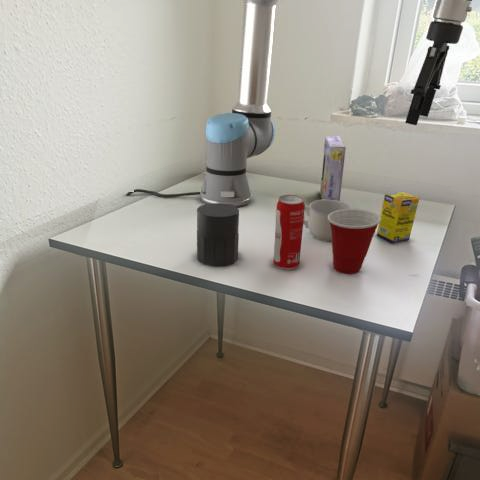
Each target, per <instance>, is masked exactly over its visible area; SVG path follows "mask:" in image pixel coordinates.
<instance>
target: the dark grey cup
mask: <svg viewBox="0 0 480 480" xmlns="http://www.w3.org/2000/svg"><path fill="white" fill-rule="evenodd" d="M239 226H240V209H239V207H235V206H232V205H228V204H221V203H212V204H205V203H204V204H202V205H199V206H198V207H197V208H196V258H197V261H198V262H199V263H201V264H203V265H206V266H211V267H226V266H230V265H233V264H235V263H236V262H238V260H239V239H240V238H239V237H240V233H239Z"/></svg>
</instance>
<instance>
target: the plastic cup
mask: <svg viewBox="0 0 480 480" xmlns="http://www.w3.org/2000/svg"><path fill="white" fill-rule="evenodd" d="M380 216H381V214H378V213H377V212H374V211H372V210H368V209H361V208H353V209H343V210H337V211H334V212H331V213H330V214H329V215H328V221H329V222H330V225H331V231H332V241H331V249H332V250H331V252H332V264H333V265H332V266H333V269H334V270H335V271H336V272H338V273H340V274H344V275H345V274H346V275H355V274H358V273H359V272H361V271H360V270H361V269H362V267H363V264H364V261H365V259H366V257H367V254H368V253H369V252H368V251H369V249H370V246H371V243H372V240H373V238H374V235H375V233H376V230H377V229H378V226H379V223H380V221H381V217H380Z"/></svg>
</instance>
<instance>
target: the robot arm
mask: <svg viewBox="0 0 480 480" xmlns="http://www.w3.org/2000/svg"><path fill="white" fill-rule="evenodd" d="M281 1H282V0H241V2H242V4H243V10H242V13H243V14H242V26H241V45H240V59H239V62H240V63H239V77H238V92H237V93H238V94H237V101H236V103H235V104H234V105H233V106H232V108H231V112H225V113H219V114H215V115H212V116H210V118H208V119H207V121H206V127H205V176H204V180H203V182H202V186H201V188H200V191H192V192H181V193H171V194H170V193H169V194H168V193H167V194H165V193H159V192H157V191H153V190H147V189H143V188H135V190H134V189H133V190H134V192H129V191H128V192H127V193H126V194H125V196H127V197H129V196H131V195H133V194H134V193H144V194H150V195H154V196H157V197H161V198H178V197H187V196H188V197H189V196H199V200H200V202H201V203H203V204H204V205H205V204H212V203H221V204H228V205H232V206H235V207H237V208H239V207H240V208H241V207H244V206H247V205H248V204H250V203H251V202H252V192H251V189H250V185H249V182H248V178H247V160H248V159H249V158H253V157H256V156H259V155H262V154H263V153H264V152H265V151H267V150H268V149H269V148H270V147H271V146H272V144H273V142H274V140H275V136H276V128H275V124H274V122H273V121H272V109H271V108H270V107H269V105H268V97H269V96H268V95H269V86H270V85H269V84H270V83H269V82H270V73H271V64H272V63H271V62H272V53H273V51H272V50H273V39H274V28H275V17H276V8H277V6H278V5H279V4H280V3H281ZM472 1H473V0H435V3H434V5H433V8H432V11H431V18H432V20H431V21H430V22H428V23H429V24H428V25H427V26H428V27H427V30H426V34H425V40H427V41H432V42H433V44H432V46H428V47H427V51H426V55H425V58H424V61H423V63H422V66H421V67H420V71H419V74H418V76H417V79H416V81H415V85H414V87H413V88H412V89H411V90H410V94H411V95H413V96H412V99H411V103H410V105H409V108H408V112H407V115H406V120H405V124H408V125H412V126H417V125H418V123H419V120H420V116H421V117H426V118H428V117H429V114H430V112H431V108H432V105H433V102H434V99H435V96H436V93H437V90H440V89H441V86H442V85H441V79H442V75H443V71H444V67H445V65H446V64H445V63H446V59H447V56H448V52H449V50H450V45H457V44H458V43H459V42H460V39H461V36H462V33H463V29H464V27H463V26H464V25H462V23H464V22H466V19H467V16H468V13H471V12H472V11H473V7H472V6H471V4H472ZM448 44H449V45H448Z"/></svg>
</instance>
